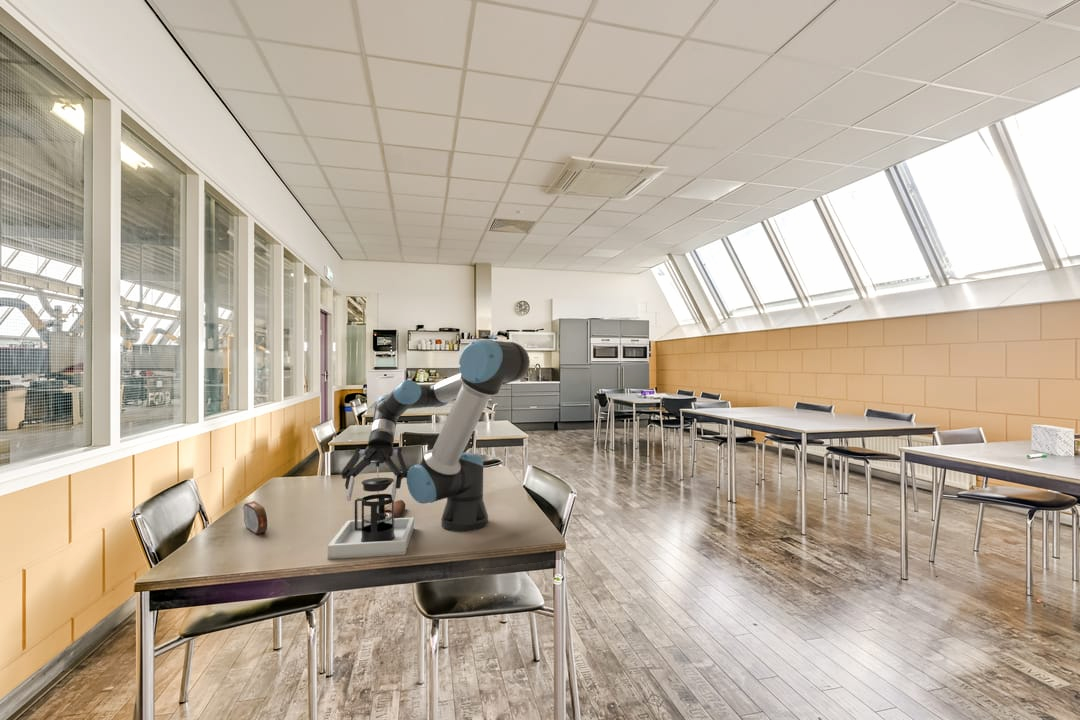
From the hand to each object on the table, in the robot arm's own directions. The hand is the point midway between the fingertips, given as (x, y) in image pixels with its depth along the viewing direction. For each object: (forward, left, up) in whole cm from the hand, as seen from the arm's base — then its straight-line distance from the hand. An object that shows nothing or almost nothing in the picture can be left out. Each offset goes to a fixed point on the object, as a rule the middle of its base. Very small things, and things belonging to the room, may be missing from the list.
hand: (370, 498), depth 137 cm
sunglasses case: (-1, -28, -14) cm, 31 cm away
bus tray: (-1, -3, -14) cm, 14 cm away
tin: (+38, -20, -14) cm, 45 cm away
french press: (-1, -3, -13) cm, 13 cm away
